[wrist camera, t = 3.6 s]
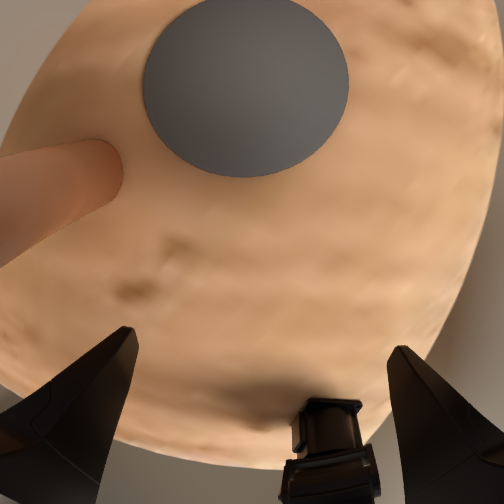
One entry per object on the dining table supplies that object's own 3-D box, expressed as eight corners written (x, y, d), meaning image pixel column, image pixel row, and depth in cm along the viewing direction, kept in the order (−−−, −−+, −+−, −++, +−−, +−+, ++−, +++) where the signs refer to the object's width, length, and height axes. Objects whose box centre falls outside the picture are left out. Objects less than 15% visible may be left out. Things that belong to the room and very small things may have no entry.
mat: (359, 20, 13) (362, 17, 12) (321, 195, 18) (323, 197, 18) (172, -7, 13) (168, -11, 12) (134, 159, 18) (129, 161, 17)
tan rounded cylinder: (126, 142, 18) (-20, 173, 6) (120, 211, 20) (-1, 296, 8) (72, 138, 18) (-62, 169, 6) (69, 201, 20) (-49, 267, 8)
